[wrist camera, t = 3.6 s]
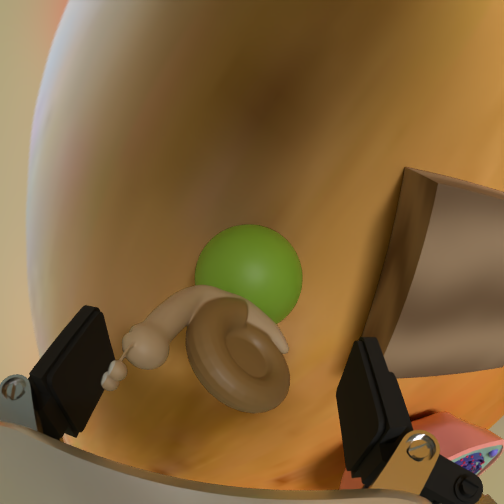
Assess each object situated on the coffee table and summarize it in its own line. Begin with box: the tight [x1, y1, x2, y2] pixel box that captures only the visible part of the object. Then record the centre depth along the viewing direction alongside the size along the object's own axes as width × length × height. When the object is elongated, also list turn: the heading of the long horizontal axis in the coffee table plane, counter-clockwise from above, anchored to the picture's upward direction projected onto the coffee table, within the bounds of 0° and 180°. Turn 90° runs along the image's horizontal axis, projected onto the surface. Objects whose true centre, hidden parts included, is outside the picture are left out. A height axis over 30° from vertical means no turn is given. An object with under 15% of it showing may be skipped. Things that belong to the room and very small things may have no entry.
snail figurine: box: [101, 224, 302, 413], centre depth 13 cm, size 5×6×12 cm
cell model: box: [339, 412, 504, 490], centre depth 21 cm, size 17×20×11 cm
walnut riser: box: [362, 167, 504, 378], centre depth 16 cm, size 12×12×4 cm
